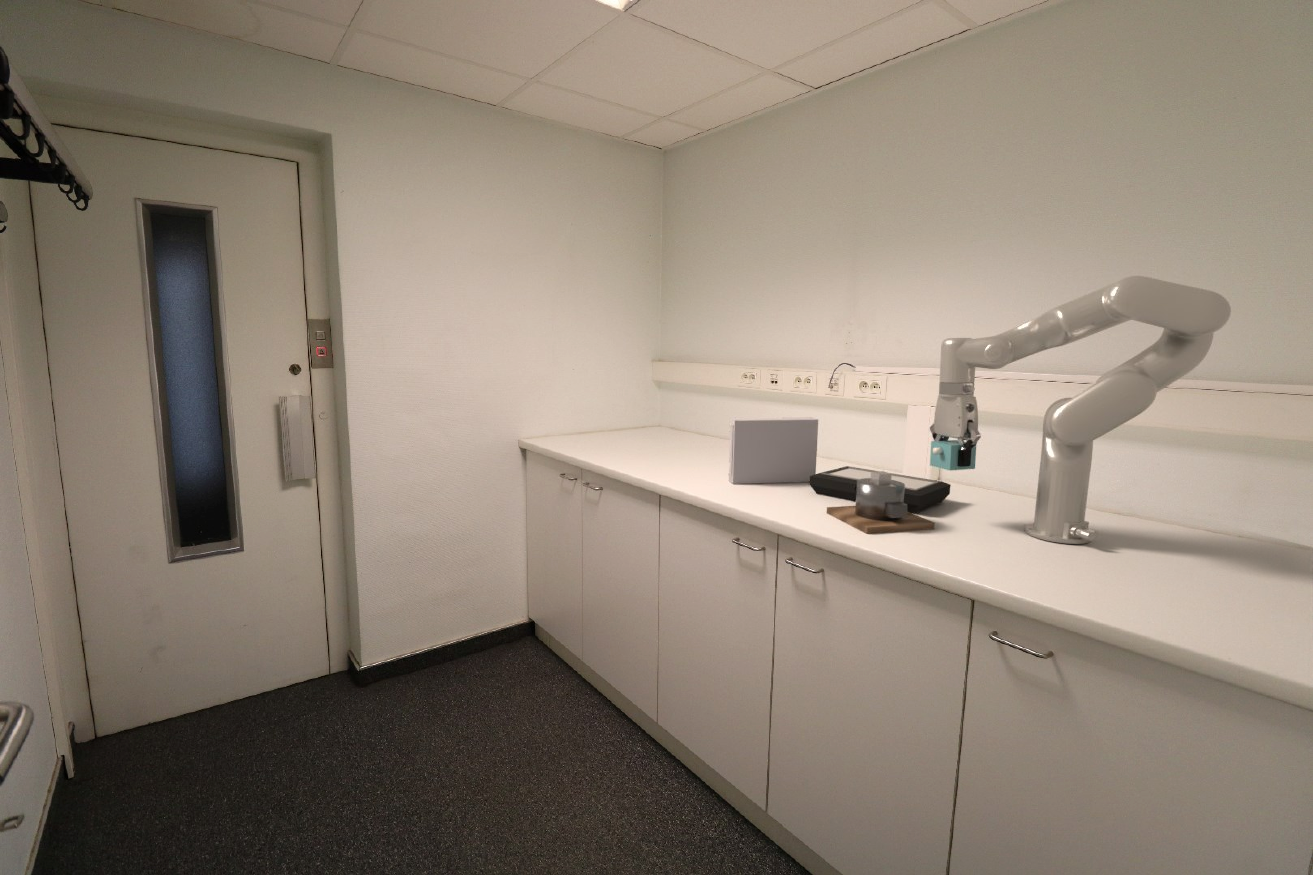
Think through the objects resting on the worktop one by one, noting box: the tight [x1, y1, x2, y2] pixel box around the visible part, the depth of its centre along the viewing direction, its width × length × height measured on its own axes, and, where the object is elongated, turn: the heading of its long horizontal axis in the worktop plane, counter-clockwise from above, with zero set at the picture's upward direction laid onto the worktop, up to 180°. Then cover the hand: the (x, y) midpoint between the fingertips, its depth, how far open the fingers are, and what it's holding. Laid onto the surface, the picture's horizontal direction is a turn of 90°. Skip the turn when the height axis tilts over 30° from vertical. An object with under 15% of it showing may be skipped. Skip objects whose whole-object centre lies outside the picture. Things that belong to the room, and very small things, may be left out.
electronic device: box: [809, 465, 952, 515], centre depth 174 cm, size 32×6×20 cm
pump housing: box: [929, 439, 977, 471], centre depth 149 cm, size 7×9×6 cm
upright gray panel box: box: [728, 417, 819, 485], centre depth 194 cm, size 6×27×20 cm, turn 100°
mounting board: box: [826, 505, 935, 535], centre depth 152 cm, size 18×18×2 cm
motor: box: [854, 470, 908, 521], centre depth 150 cm, size 14×11×10 cm
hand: (952, 462), depth 149 cm, fingers closed on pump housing, 7 cm apart
